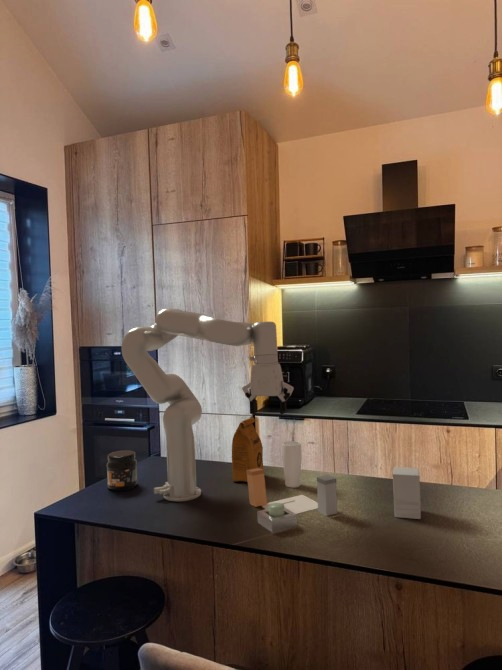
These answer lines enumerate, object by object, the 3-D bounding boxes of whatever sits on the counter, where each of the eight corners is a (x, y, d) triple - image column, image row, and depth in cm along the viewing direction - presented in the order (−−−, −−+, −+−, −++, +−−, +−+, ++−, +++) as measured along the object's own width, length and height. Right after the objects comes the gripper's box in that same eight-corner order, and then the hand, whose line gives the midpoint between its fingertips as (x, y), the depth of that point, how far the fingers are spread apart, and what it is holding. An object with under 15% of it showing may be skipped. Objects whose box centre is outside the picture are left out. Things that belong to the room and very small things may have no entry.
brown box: (255, 506, 146) (252, 471, 147) (249, 504, 150) (246, 470, 151) (267, 504, 148) (263, 469, 149) (260, 501, 152) (257, 468, 153)
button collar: (272, 533, 128) (271, 520, 128) (257, 523, 135) (257, 511, 135) (296, 526, 132) (296, 514, 132) (281, 517, 139) (281, 505, 139)
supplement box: (420, 510, 141) (419, 467, 141) (421, 520, 134) (419, 475, 134) (394, 507, 143) (393, 466, 143) (393, 517, 136) (392, 473, 136)
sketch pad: (280, 519, 138) (280, 517, 138) (259, 506, 148) (259, 504, 148) (324, 507, 145) (324, 506, 145) (302, 495, 156) (302, 494, 156)
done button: (274, 522, 131) (273, 509, 130) (266, 517, 134) (265, 504, 134) (287, 518, 133) (287, 506, 133) (279, 513, 136) (278, 501, 136)
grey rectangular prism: (326, 517, 138) (325, 480, 138) (317, 512, 142) (316, 477, 141) (337, 514, 140) (336, 478, 140) (328, 509, 144) (327, 474, 143)
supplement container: (101, 489, 169) (99, 456, 168) (120, 480, 178) (118, 448, 178) (125, 493, 165) (124, 458, 164) (143, 483, 174) (142, 450, 174)
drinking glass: (302, 482, 169) (301, 440, 169) (302, 489, 162) (301, 445, 162) (283, 482, 170) (282, 440, 169) (282, 489, 163) (281, 445, 163)
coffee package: (268, 475, 179) (266, 417, 179) (252, 485, 168) (250, 423, 168) (244, 472, 184) (242, 415, 183) (228, 482, 173) (226, 421, 172)
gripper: (236, 361, 152) (239, 414, 153) (287, 360, 146) (290, 416, 146) (246, 359, 159) (248, 410, 159) (295, 358, 153) (298, 411, 153)
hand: (268, 413), depth 153 cm, fingers open, 9 cm apart
